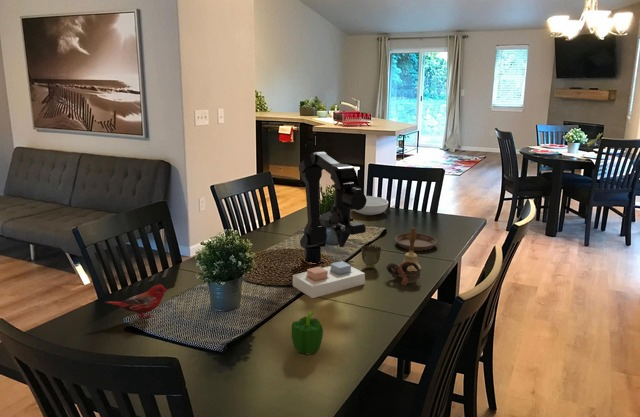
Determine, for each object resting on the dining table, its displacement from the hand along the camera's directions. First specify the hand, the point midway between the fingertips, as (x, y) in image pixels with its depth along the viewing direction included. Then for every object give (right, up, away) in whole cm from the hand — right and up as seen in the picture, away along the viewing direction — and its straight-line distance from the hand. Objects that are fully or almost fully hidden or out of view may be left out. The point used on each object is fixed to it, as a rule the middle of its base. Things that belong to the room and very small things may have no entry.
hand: (341, 246), depth 176 cm
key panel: (-4, -13, 0) cm, 14 cm away
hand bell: (+27, -9, +18) cm, 34 cm away
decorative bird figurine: (-61, -19, -26) cm, 69 cm away
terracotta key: (-8, -10, -3) cm, 14 cm away
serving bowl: (+18, +11, +95) cm, 97 cm away
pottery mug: (+22, -13, +6) cm, 26 cm away
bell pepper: (-11, -24, -41) cm, 49 cm away
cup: (+12, -9, +17) cm, 23 cm away
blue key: (0, -9, +2) cm, 9 cm away
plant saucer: (+34, -3, +44) cm, 56 cm away
